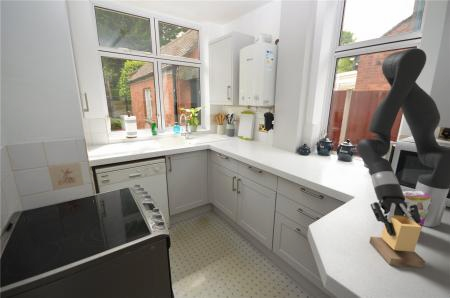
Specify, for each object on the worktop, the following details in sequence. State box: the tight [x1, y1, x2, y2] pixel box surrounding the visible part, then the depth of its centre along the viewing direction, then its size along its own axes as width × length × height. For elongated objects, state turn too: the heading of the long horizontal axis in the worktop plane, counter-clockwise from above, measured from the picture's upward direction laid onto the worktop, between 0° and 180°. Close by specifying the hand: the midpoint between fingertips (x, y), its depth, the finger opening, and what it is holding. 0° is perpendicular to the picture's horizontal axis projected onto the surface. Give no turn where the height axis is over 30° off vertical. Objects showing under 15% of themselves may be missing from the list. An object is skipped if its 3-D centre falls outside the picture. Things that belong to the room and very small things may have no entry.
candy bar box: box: [402, 190, 433, 230], centre depth 77 cm, size 11×5×16 cm, turn 92°
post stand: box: [368, 236, 426, 269], centre depth 65 cm, size 10×10×10 cm
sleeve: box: [380, 215, 423, 252], centre depth 64 cm, size 6×6×9 cm
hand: (404, 236), depth 63 cm, fingers closed on sleeve, 6 cm apart
